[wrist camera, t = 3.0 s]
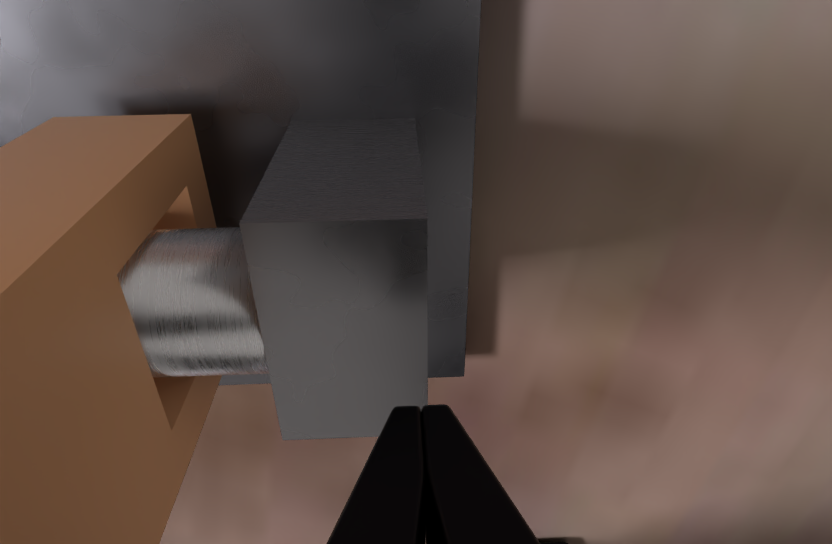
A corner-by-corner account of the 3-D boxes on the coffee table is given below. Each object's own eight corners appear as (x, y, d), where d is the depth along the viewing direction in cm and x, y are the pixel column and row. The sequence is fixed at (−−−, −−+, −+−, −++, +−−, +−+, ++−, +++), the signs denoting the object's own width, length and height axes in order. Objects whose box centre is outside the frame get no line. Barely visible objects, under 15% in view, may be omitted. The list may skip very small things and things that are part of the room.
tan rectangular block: (191, 113, 12) (-248, 526, 4) (239, 328, 16) (58, 814, 7) (53, 116, 12) (-698, 545, 4) (130, 332, 15) (-186, 827, 7)
